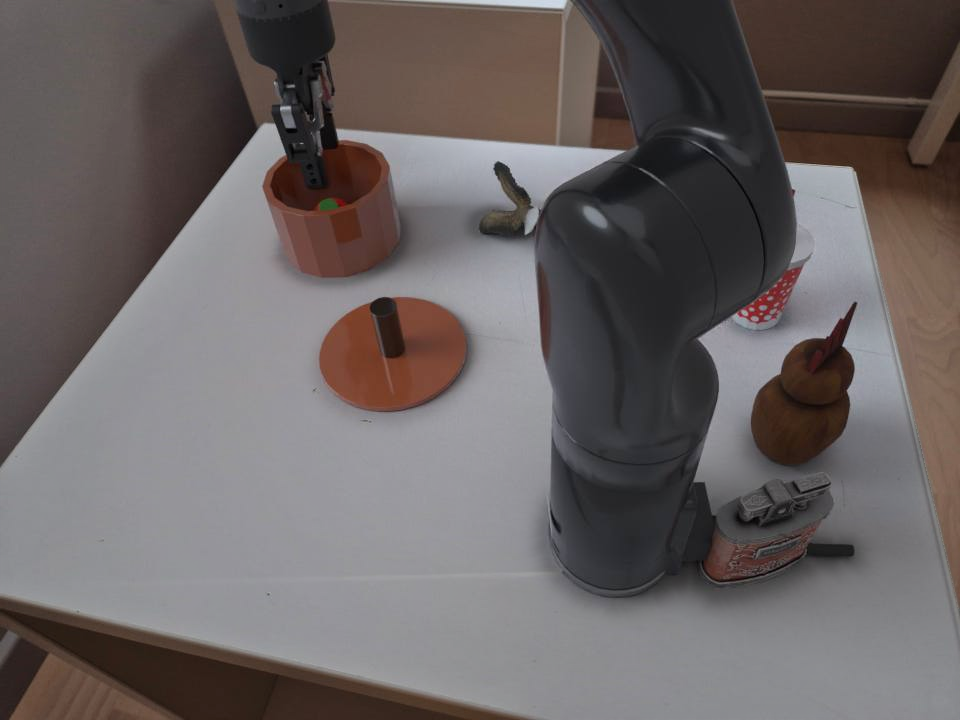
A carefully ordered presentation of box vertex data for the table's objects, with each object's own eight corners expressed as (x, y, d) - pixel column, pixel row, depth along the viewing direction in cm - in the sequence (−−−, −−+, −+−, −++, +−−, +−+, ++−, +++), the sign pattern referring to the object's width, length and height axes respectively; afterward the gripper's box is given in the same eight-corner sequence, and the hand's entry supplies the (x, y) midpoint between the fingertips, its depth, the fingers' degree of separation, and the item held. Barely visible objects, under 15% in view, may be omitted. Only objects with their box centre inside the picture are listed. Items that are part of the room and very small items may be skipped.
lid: (468, 302, 74) (463, 251, 69) (465, 413, 65) (459, 363, 60) (332, 308, 75) (317, 257, 70) (311, 418, 66) (292, 369, 61)
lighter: (711, 597, 53) (740, 530, 46) (689, 555, 55) (713, 484, 48) (813, 564, 54) (857, 493, 47) (787, 524, 56) (826, 450, 49)
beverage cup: (735, 281, 74) (768, 160, 63) (797, 304, 71) (843, 182, 61) (710, 320, 70) (741, 199, 60) (774, 345, 68) (818, 224, 57)
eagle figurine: (572, 201, 82) (498, 171, 83) (569, 179, 75) (489, 145, 76) (541, 264, 81) (468, 232, 83) (536, 247, 74) (456, 212, 76)
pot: (404, 202, 85) (393, 137, 79) (396, 278, 77) (382, 212, 70) (295, 207, 86) (275, 143, 79) (275, 283, 78) (251, 218, 71)
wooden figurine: (798, 405, 64) (853, 274, 52) (843, 458, 60) (913, 330, 49) (728, 431, 62) (770, 303, 51) (770, 487, 59) (825, 362, 47)
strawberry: (359, 213, 81) (349, 187, 75) (358, 249, 80) (348, 226, 74) (320, 214, 81) (308, 188, 75) (319, 250, 80) (306, 227, 74)
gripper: (311, 32, 57) (353, 210, 69) (336, -45, 66) (369, 124, 79) (213, 38, 57) (273, 214, 70) (252, -40, 66) (298, 128, 79)
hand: (323, 166), depth 74 cm, fingers open, 6 cm apart
